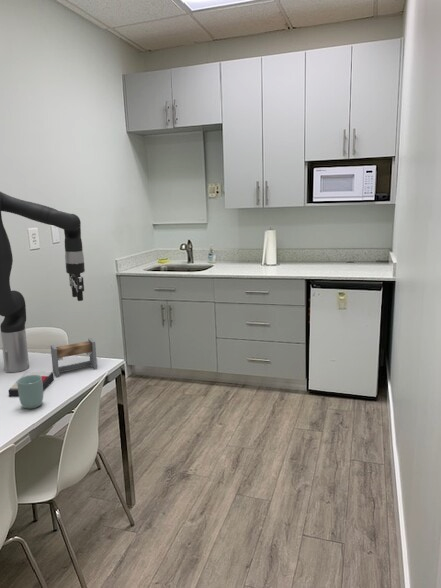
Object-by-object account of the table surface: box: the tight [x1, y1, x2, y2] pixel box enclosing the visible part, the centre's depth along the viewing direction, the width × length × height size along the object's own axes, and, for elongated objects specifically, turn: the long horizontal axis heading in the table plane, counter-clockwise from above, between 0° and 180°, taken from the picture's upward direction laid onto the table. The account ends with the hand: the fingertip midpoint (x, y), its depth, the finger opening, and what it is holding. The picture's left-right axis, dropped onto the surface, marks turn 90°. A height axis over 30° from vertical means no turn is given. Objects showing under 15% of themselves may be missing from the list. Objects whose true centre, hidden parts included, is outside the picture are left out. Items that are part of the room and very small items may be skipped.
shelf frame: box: [50, 337, 98, 378], centre depth 182 cm, size 17×6×12 cm, turn 123°
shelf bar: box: [55, 340, 91, 358], centre depth 181 cm, size 13×4×4 cm, turn 123°
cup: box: [16, 375, 44, 409], centre depth 151 cm, size 8×8×10 cm
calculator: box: [8, 371, 55, 398], centre depth 167 cm, size 11×4×15 cm
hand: (77, 298), depth 189 cm, fingers open, 8 cm apart
